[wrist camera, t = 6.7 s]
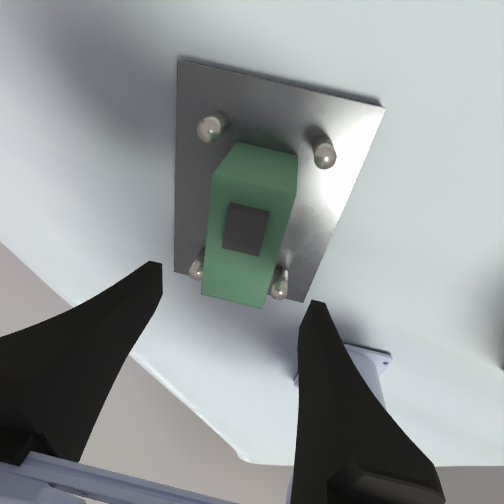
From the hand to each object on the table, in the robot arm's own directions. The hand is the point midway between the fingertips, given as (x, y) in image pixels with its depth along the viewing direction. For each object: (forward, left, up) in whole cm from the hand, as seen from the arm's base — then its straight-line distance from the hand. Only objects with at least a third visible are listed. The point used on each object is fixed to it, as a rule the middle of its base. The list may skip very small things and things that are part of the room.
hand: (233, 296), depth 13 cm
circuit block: (+1, 0, -9) cm, 9 cm away
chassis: (0, 0, -10) cm, 10 cm away
